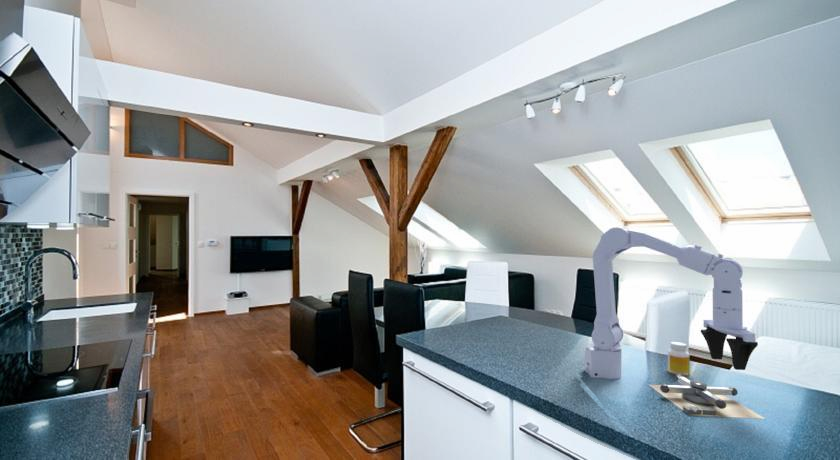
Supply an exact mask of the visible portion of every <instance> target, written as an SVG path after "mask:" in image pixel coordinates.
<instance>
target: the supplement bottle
mask: <svg viewBox="0 0 840 460" xmlns="http://www.w3.org/2000/svg"><path fill="white" fill-rule="evenodd" d="M687 349H688V347H687V344H686V343H684V342H679V341H678V342H677V341H671V342H670V348H669V349H668V351H667V372H669V373H670V374H672V375H675V376H676V375H677V374H680V375H682V376H683V377H686V376H687V377H688V376H690V375H691V374H690V372H691V371H690V370H691V369H690V365H691V364H690V361H691V359H690V353H689V352H688V351H687Z"/></svg>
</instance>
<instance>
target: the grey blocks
mask: <svg viewBox="0 0 840 460" xmlns="http://www.w3.org/2000/svg"><path fill="white" fill-rule="evenodd" d="M682 411H683V412H684V413H685V412H686V413H685V414H687V415H688V414H698V415H716V411H715V410H714V409H712V408H711V407H698V406H695V405H690V406H683V410H682Z"/></svg>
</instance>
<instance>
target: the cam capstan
mask: <svg viewBox="0 0 840 460" xmlns="http://www.w3.org/2000/svg"><path fill="white" fill-rule="evenodd" d="M674 379H675V381H676V382H678V383H679V384H681V385H679V384H678V385H675V384H674V385H673V384H660V385H661V386H660V390H661V391H662V392H663V393H682V398H683V399H685V400H687V401H689V402H692V403H695V404H699V405H704V406H714V405H715V406H717V407H718V408H720V409H724V408H726V402H725V401H723V400H721V399H720V398H718V397H716V396H715V395H725V396H732V397H734V396H737V395H738V393H739V392H738V390H737V388H736V387H733V386H728V387H727V386H726V387H725V386H708V385H707V384H706V383H705V382H703V381H696V380H690V379H688V378H687V377H686V376H682V375H680V374H677V375H676V374H675V376H674Z"/></svg>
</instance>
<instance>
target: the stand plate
mask: <svg viewBox="0 0 840 460" xmlns="http://www.w3.org/2000/svg"><path fill="white" fill-rule="evenodd" d="M661 385H662V384H648V386H650V387H651V388H652V389H653V390H655V391H656V392H658V393H659V394H660V395H662V396H663V397H664V398H666V399H667V400H668V401H670V403H672V404H674V406H676V407H678V409H680V410H681V411H683V406H690V405H695V406H698V407H711V408H712V409H714V410H715V411H716V415H698V414H687V413H686V412H684V413H685V414H687V415H688V416H690V417H691V416H693V417H694V416H695V417H713V418H714V417H715V418H737V419H739V418H740V419H758V420H759V419H760V420H761V419H762V420H766V418H765V417H763V416H762V415H760V414H758V413H757V412H755V411H753V410H752V409H749V408H748V407H746V406H744V405H742V404H741V403H739V402H737V401H736V400H734V399H732V398H731V397H729V396H728V395H715V396H716V397H718V398H720V399H721V400H723V401H725V402H726V408H724V409H720V408H718V407H717V406H715V405H714V406H704V405H699V404H695V403H692V402H689V401H687V400H685V399H683V398H682V393H663V392H662V391H661V390H660V386H661Z"/></svg>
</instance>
